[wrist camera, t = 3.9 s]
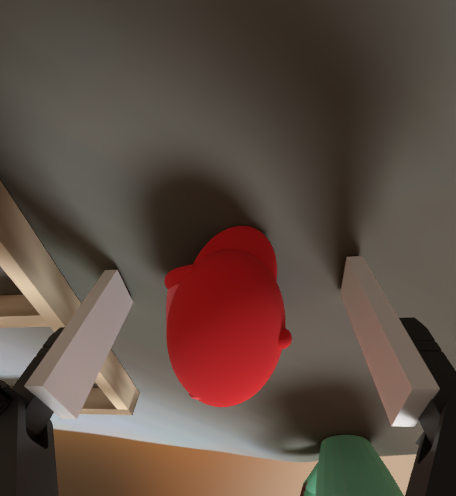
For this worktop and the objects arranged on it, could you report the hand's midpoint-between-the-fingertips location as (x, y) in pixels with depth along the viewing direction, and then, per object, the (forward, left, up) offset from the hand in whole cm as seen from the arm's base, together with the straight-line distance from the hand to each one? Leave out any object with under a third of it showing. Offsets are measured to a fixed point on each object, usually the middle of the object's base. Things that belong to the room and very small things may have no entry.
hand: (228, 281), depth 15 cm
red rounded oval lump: (0, 0, 0) cm, 0 cm away
